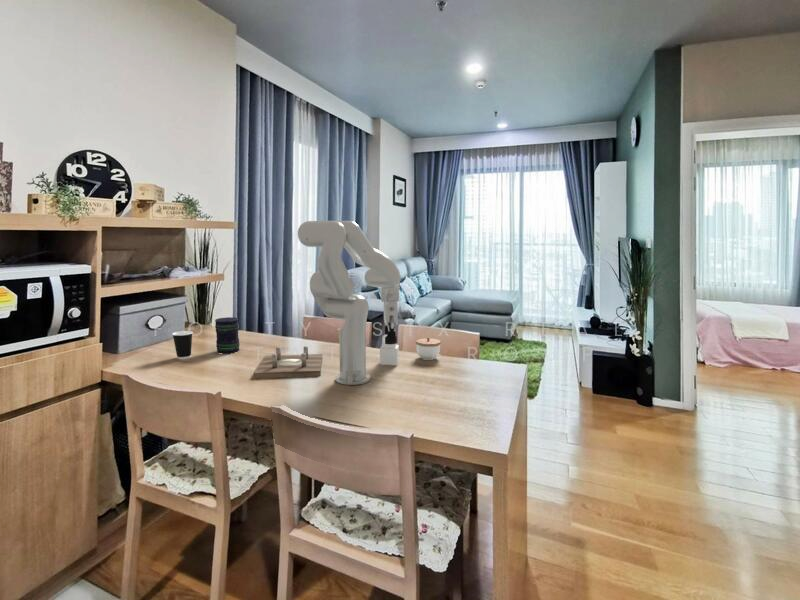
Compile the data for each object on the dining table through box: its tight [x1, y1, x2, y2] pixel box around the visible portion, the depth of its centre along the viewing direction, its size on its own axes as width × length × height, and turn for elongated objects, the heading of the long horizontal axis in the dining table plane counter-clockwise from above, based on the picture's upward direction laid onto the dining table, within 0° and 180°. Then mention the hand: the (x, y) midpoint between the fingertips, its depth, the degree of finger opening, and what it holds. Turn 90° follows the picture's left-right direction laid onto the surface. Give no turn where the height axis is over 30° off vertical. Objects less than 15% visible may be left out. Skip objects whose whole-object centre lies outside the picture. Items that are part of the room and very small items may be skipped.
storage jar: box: [214, 316, 240, 355], centre depth 192 cm, size 10×10×15 cm
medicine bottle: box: [379, 334, 400, 367], centre depth 176 cm, size 7×7×12 cm
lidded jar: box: [415, 336, 442, 361], centre depth 184 cm, size 11×11×9 cm
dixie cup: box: [171, 330, 194, 360], centre depth 181 cm, size 8×8×11 cm
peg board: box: [253, 345, 323, 379], centre depth 168 cm, size 24×24×7 cm
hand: (390, 338), depth 176 cm, fingers open, 9 cm apart
